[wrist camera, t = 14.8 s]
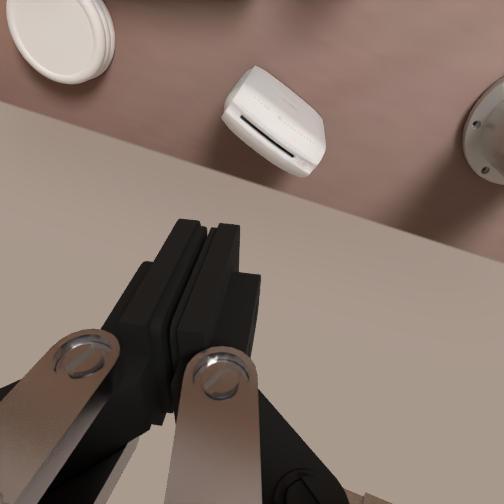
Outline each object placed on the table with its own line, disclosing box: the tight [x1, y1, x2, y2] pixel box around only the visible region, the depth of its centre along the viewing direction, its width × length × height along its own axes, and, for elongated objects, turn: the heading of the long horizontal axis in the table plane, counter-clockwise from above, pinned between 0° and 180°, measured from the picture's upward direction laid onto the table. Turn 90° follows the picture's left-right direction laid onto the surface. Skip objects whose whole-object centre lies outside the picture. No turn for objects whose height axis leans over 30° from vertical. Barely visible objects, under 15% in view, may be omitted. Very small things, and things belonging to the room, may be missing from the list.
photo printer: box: [221, 66, 326, 178], centre depth 37 cm, size 10×4×12 cm, turn 55°
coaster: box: [6, 0, 115, 84], centre depth 39 cm, size 10×10×4 cm
